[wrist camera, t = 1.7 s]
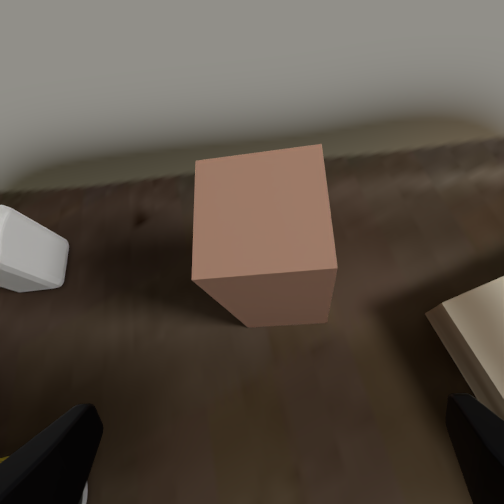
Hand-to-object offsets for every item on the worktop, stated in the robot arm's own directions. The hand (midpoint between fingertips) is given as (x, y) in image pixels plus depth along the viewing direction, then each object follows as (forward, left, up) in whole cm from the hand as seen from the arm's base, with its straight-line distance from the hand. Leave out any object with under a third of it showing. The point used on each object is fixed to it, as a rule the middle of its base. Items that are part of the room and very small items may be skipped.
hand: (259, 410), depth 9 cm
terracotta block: (+2, +6, -13) cm, 14 cm away
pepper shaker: (-14, +15, -13) cm, 24 cm away
